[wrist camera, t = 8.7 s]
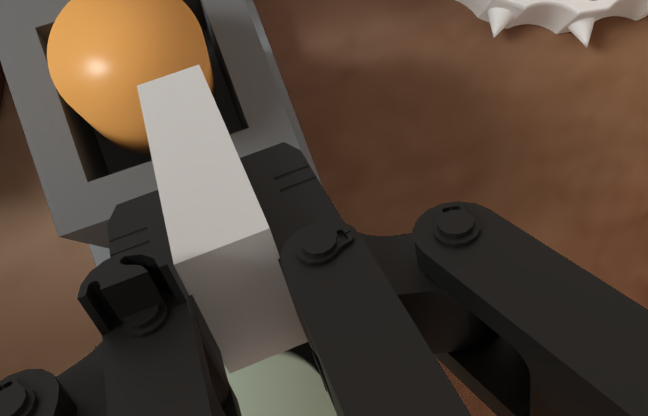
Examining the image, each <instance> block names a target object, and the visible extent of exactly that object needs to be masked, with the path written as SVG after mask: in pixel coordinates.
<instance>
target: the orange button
mask: <svg viewBox="0 0 648 416" xmlns="http://www.w3.org/2000/svg"><path fill="white" fill-rule="evenodd" d="M47 62H48V68H49V72H50V76H51V78H52V81H53V83H54V85H55V87H56V89H57V90H58V92H59V94H60V95H61V96H62V98H63V99H64V100H65V101H66V102H67V103H68V104H69V105H70V106H71V107H72V108H73V109H74V110H75V111H76V112H77V113H78V114H79V115H81V116H82V117H83V118H84V119H85V120H86V121H87V122H88V123H89V124H90V125H91V126H93V127H94V128H95V129H96V130H97V131H98V132H99V133H100V134H101V135H102V136H103V137H105V138H106V139H107V140H108V141H110V142H111V143H112V144H114V145H116V146H118V147H120V148H122V149H124V150H127V151H130V152H134V153H139V154H151V152H150V147H149V143H148V138H147V133H146V128H145V123H144V118H143V113H142V109H141V104H140V99H139V94H138V89H137V85H140V84H143V83H146V82H149V81H152V80H155V79H158V78H161V77H164V76H166V75H169V74H172V73H175V72H178V71H181V70H184V69H187V68H190V67H193V66H196V65H200V68H201V70H202V72H203V75H204V77H205V79H206V82H207V84H208V86H209V88H210V91H211V93H212V95H213V98H214V100H215V97H216V86H215V79H214V75H213V71H212V67H211V63H210V59H209V55H208V51H207V47H206V43H205V39H204V36H203V32H202V29H201V27H200V24H199V22H198V20H197V18H196V17H195V15H194V13H193V12H192V11H191V9H190V8H189V7H188V6H187V4H186V3H184V2H183V1H182V0H71V1H70V2H68V3H67V5H66V6H65V7H64V8H63V9H62V10H61V12H60V13H59V15H58V17H57V18H56V20H55V22H54V24H53V26H52V29H51V32H50V35H49V39H48V45H47Z"/></svg>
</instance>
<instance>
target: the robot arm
mask: <svg viewBox="0 0 648 416" xmlns="http://www.w3.org/2000/svg"><path fill="white" fill-rule="evenodd" d="M137 89H138V94H139V99H140V104H141V109H142V113H143V118H144V123H145V128H146V133H147V138H148V143H149V147H150V152H151V157H152V162H153V167H154V172H155V177H156V181H157V186H158V190H156V191H153V192H150V193H147V194H145V195H142V196H139V197H136V198H134V199H131V200H128V201H125V202H123V203H120V204H117V205H116V207H115V209H114V211H113V213H112V215H111V217H110V219H109V221H108V223H107V225H108V238H109V243H110V244H109V251H110V257H111V258H109V259H107V260H105V261H103V262H102V263H101V264H99V265H98V266H97V267H96V268H95V269H93V270H92V271H91V272H90V273H89V274H88V276H87V277H86V279H85V280H84V281H83V283H82V284H81V286H80V290H79V294H78V298H77V299H78V300H79V302H80V303H81V305H82V306H83V308H84V309H85V311H86V312H87V313H88V315H89V316H90V318H91V319H92V321H93V322H94V324H95V325H96V327H97V328H98V330H99V331H100V332H101V334H102V337H103V341H102V342H101V343H100V344H99V345H98V346H97V347H96V348H95V349H94V351H92V352H91V353H90V354H89V355H87V356H86V357H85V358H84V359H82V360H81V361H80V362H78V363H77V364H75V365H74V366H72V367H71V368H69V369H68V370H66V371H65V372H63V373H62V374H60V375H59V376H57V377H55V376H54V375H53V374H51V373H49V372H47V371H45V370H43V369H28V370H24V371H21V372H18V373H15V374H13V375H10V376H8V377H6V378H5V379H3V380H2V381H0V416H242V415H241V411H240V407H239V403H238V400H237V398H236V396H235V394H234V392H233V390H232V388H231V386H230V384H229V382H228V378H227V374H226V371H225V367H226V368H227V370H228V372H229V374H231V373H233V372H235V371H238V370H240V369H243V368H245V367H248V366H250V365H253V364H255V363H257V362H260V361H262V360H265V359H267V358H270V357H272V356H274V355H277V354H279V353H282V352H284V351H287V350H289V349H291V348H294V347H296V346H299V345H301V344H304V343H306V342H309V345H310V347H311V350H312V353H313V356H314V359H315V361H316V364H317V367H318V370H319V373H320V376H321V378H322V381H323V384H324V387H325V390H326V391H328V394H329V396H330V399H331V401H332V404H333V406H334V409H335V411H336V414H337V416H471V414H470V413H469V411H468V410H467V408H466V406H465V405H464V403H463V401H462V400H461V398H460V397H459V395H458V393H457V392H456V390H455V388H454V387H453V385H452V383H451V382H450V380H449V379H448V377H447V375H446V374H445V372H444V370H443V369H442V367H441V366H440V364H439V362H438V361H437V359H436V357H437V358H438V359H439V360H440V361H441V362H442V363H443V364H444V365H445V366H446V367H447V368H448V369H449V370H450V371H451V372H452V373H453V374H454V375H455V376H456V377H457V378H458V379H460V380H461V381H462V382H463V383H464V384H465V385H466V386H467V387H468V388H469V389H470V390H471V391H472V392H473V393H474V394H475V395H476V396H477V397H478V398H479V399H480V400H481V401H482V402H484V403H485V404H486V405H487V406H488V407H489V408H490V409H491V410H492V411H493V412H494V413H495V414H496V415H497V416H648V310H647V309H646V308H644V307H643V306H641V305H639V304H638V303H636V302H635V301H633V300H631V299H630V298H628V297H627V296H625V295H624V294H622V293H620V292H619V291H617V290H616V289H614V288H613V287H611V286H609V285H608V284H606V283H605V282H603V281H601V280H600V279H598V278H597V277H595V276H594V275H592V274H590V273H589V272H587V271H586V270H584V269H583V268H581V267H579V266H578V265H576V264H575V263H573V262H572V261H570V260H568V259H567V258H565V257H564V256H562V255H560V254H559V253H557V252H556V251H554V250H553V249H551V248H549V247H548V246H546V245H545V244H543V243H542V242H540V241H538V240H537V239H535V238H534V237H532V236H530V235H529V234H527V233H526V232H524V231H523V230H521V229H519V228H518V227H516V226H515V225H513V224H512V223H510V222H508V221H507V220H505V219H504V218H502V217H500V216H499V215H497V214H496V213H494V212H493V211H491V210H489V209H487V208H485V207H483V206H480V205H478V204H475V203H468V202H452V203H445V204H441V205H438V206H436V207H434V208H431V209H429V210H427V211H426V212H425V213H424V214H423V215H422V216H421V217H419V218H418V219H417V222H416V224H415V226H414V228H413V233H409V234H402V235H395V236H381V237H378V236H369V235H365V234H362V233H359V232H357V231H356V230H355V229H354V228H353V227H352V226H350V225H347V224H346V223H345V222H344V221H343V220H342V218H341V217H340V215H339V213H338V212H337V210H336V208H335V207H334V205H333V203H332V202H331V200H330V198H329V197H328V195H327V193H326V192H325V190H324V188H323V187H322V185H321V183H320V182H319V180H318V179H317V177H316V175H315V173H314V172H313V170H312V168H310V165H309V163H308V162H307V160H306V158H305V157H304V155H303V153H302V152H301V150H299V149H297V148H295V147H293V146H291V145H289V144H287V143H285V142H282V143H280V144H277V145H274V146H271V147H269V148H266V149H263V150H260V151H258V152H255V153H252V154H249V155H247V156H244V157H241V158H239V156H238V153H237V151H236V149H235V146H234V144H233V142H232V140H231V137H230V135H229V133H228V130H227V128H226V126H225V123H224V121H223V119H222V116H221V114H220V112H219V109H218V107H217V105H216V102H215V100H214V98H213V95H212V93H211V91H210V88H209V86H208V84H207V82H206V79H205V77H204V75H203V72H202V70H201V68H200V65H196V66H193V67H190V68H187V69H184V70H181V71H178V72H175V73H172V74H169V75H166V76H164V77H161V78H158V79H155V80H152V81H149V82H146V83H143V84H140V85H137ZM434 354H435V355H436V357H435V356H434ZM224 365H225V367H224Z"/></svg>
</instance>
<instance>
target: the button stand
mask: <svg viewBox="0 0 648 416" xmlns="http://www.w3.org/2000/svg"><path fill="white" fill-rule="evenodd" d="M70 1H71V0H0V61H1V64H2V67H3V70H4V73H5V76H6V79H7V83H8V86H9V89H10V92H11V95H12V98H13V101H14V104H15V107H16V110H17V113H18V116H19V119H20V122H21V125H22V128H23V131H24V134H25V137H26V140H27V143H28V146H29V149H30V152H31V155H32V158H33V161H34V164H35V167H36V170H37V173H38V176H39V179H40V182H41V185H42V188H43V191H44V194H45V197H46V200H47V203H48V206H49V209H50V212H51V215H52V218H53V221H54V224H55V227H56V230H57V233H58V236H59V237H62V238H66V239H71V240H75V241H79V242H83V243H87V244H89V246H90V249H91V252H92V255H93V258H94V261H95V264H96V267H97V266H98V265H99V264H101V263H102V262H103V261H105V260H107V259H109V258H111V257H110V251H109V244H110V243H109V238H108V225H107V223H108V221H109V219H110V217H111V215H112V213H113V211H114V209H115V207H116V205H117V204H120V203H123V202H125V201H128V200H131V199H134V198H136V197H139V196H142V195H145V194H147V193H150V192H153V191H156V190H158V186H157V181H156V177H155V172H154V167H153V162H152V157H151V154H139V153H134V152H130V151H127V150H124V149H122V148H120V147H118V146H116V145H114V144H112V143H111V142H110V141H108V140H107V139H106V138H105V137H103V136H102V135H101V134H100V133H99V132H98V131H97V130H96V129H95V128H94V127H93V126H91V125H90V124H89V123H88V122H87V121H86V120H85V119H84V118H83V117H82V116H81V115H79V114H78V113H77V112H76V111H75V110H74V109H73V108H72V107H71V106H70V105H69V104H68V103H67V102H66V101H65V100H64V99H63V98H62V96H61V95H60V94H59V92H58V90H57V89H56V87H55V85H54V83H53V81H52V78H51V76H50V72H49V68H48V62H47V45H48V39H49V35H50V32H51V29H52V26H53V24H54V22H55V20H56V18H57V17H58V15H59V13H60V12H61V10H62V9H63V8H64V7H65V6H66V5H67V3H68V2H70ZM182 1H183V2H184V3H186V4H187V6H188V7H189V8H190V9H191V11H192V12H193V13H194V15H195V17H196V18H197V20H198V22H199V24H200V27H201V29H202V32H203V36H204V39H205V43H206V47H207V51H208V55H209V59H210V63H211V67H212V71H213V75H214V79H215V86H216V97H215V102H216V105H217V107H218V109H219V112H220V114H221V116H222V119H223V121H224V123H225V126H226V128H227V130H228V133H229V135H230V137H231V140H232V142H233V144H234V146H235V149H236V151H237V153H238V156H239V158H241V157H244V156H247V155H249V154H252V153H255V152H258V151H260V150H263V149H266V148H269V147H271V146H274V145H277V144H280V143H282V142H285V143H287V144H289V145H291V146H293V147H295V148H297V149H299V150H301V152H302V153H303V155H304V157H305V158H306V160H307V162H308V163H309V165H310V168H312V170H313V172H314V173H315V175H316V177H317V179H318V180H319V182H320V183H321V181H320V178H319V175H318V173H317V170H316V167H315V165H314V162H313V159H312V157H311V154H310V151H309V149H308V146H307V143H306V141H305V138H304V135H303V132H302V130H301V127H300V124H299V122H298V119H297V116H296V114H295V111H294V108H293V106H292V103H291V100H290V98H289V95H288V92H287V90H286V87H285V84H284V82H283V79H282V76H281V74H280V71H279V68H278V66H277V63H276V60H275V58H274V55H273V52H272V50H271V47H270V44H269V42H268V39H267V36H266V34H265V31H264V28H263V26H262V23H261V20H260V18H259V15H258V12H257V10H256V7H255V4H254V2H253V0H182ZM321 185H322V183H321ZM322 187H323V186H322ZM96 347H97V346H95V348H96ZM289 350H292V351H294V352H296V353H298V354H300V355H301V356H303V357H304V358H306V359H307V360H308V361H309V362H310V363H311V364H312V365H313V366H314V367H315V368H316V369H317V370H318V367H317V364H316V361H315V359H314V356H313V353H312V350H311V347H310V345H309V342H306V343H304V344H301V345H299V346H296V347H294V348H291V349H289ZM318 372H319V370H318Z"/></svg>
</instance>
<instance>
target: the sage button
mask: <svg viewBox="0 0 648 416" xmlns="http://www.w3.org/2000/svg"><path fill="white" fill-rule="evenodd" d="M224 367H225V365H224ZM225 371H226V374H227V378H228V382H229V384H230V386H231V388H232V390H233V392H234V394H235V396H236V398H237V400H238V403H239V407H240V411H241V415H242V416H337V414H336V411H335V409H334V406H333V404H332V401H331V399H330V396H329V394H328V391H326V390H325V387H324V384H323V381H322V378H321V376H320V373H319V372H318V370H317V369H316V368H315V367H314V366H313V365H312V364H311V363H310V362H309V361H308V360H307V359H306V358H304V357H303V356H301V355H300V354H298V353H296V352H294V351H292V350H287V351H284V352H282V353H279V354H277V355H274V356H272V357H270V358H267V359H265V360H262V361H260V362H257V363H255V364H253V365H250V366H248V367H245V368H243V369H240V370H238V371H235V372H233V373H231V374H229V372H228V370H227V368H226V367H225Z"/></svg>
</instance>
